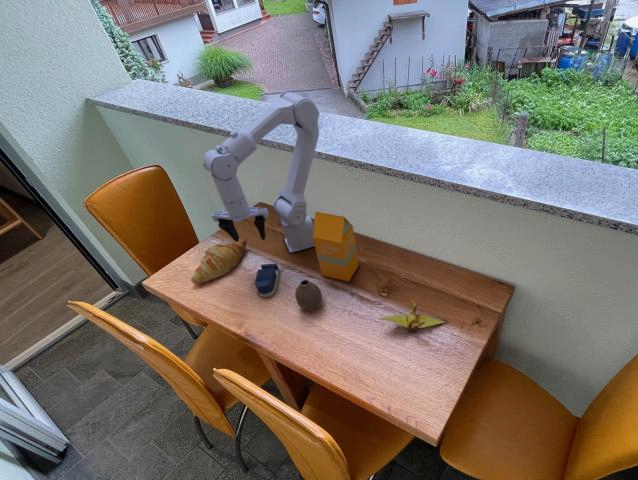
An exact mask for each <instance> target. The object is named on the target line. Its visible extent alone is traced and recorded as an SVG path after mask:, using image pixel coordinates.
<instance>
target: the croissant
mask: <svg viewBox="0 0 638 480" xmlns="http://www.w3.org/2000/svg"><path fill="white" fill-rule="evenodd" d="M247 242H248V241H247V239H244V238H241V239H239V240H238V242H235V241H232V242H231V243H223V244H215V245H212V246H209V247H208V248H207V249H206V250H205V255H204V256H202V257H201V260H200V264H199V265H198V266H197V268H195V270H194V275H193V276H191V278H190V282H191V283H193V284H201V283H205V282H208V281H211V280H213V279H216V278H219V277H221V276H223V275H226V274H229V273H230V271H231V270H232V269H233V268H235V267H236V265H238V263H239V262H240V261H241V260H240V259H241V258H242V256H243V255H244V253H245V252H246V248H247Z"/></svg>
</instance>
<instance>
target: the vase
mask: <svg viewBox="0 0 638 480" xmlns="http://www.w3.org/2000/svg"><path fill="white" fill-rule="evenodd" d="M294 293H295V294H294V295H295V301H296V303H297V305H298V306H299V307H300V308H301V309H302V310H305V311H314V310H317V309H318V308H319V307H320V306H321V304H322V303H323V293H322V290H321V289H320V287H319V286H318V285H317V284H316V283H314V282H312V281H310V280H309V279H302V280H301V281H300V282H299V284H298V286H297V287H296V289H295V292H294Z"/></svg>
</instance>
